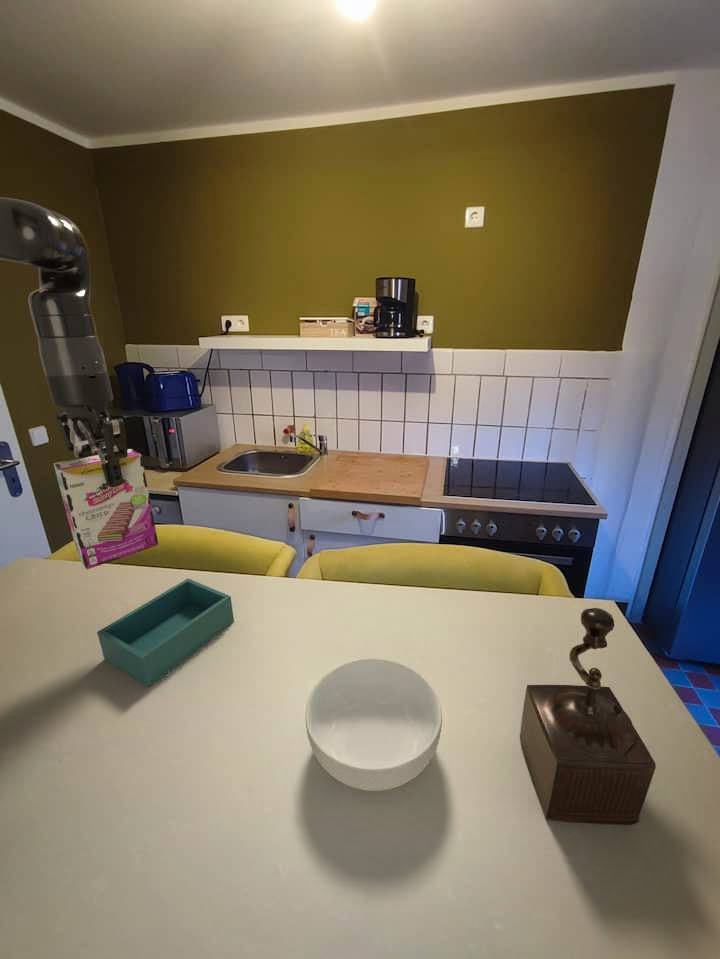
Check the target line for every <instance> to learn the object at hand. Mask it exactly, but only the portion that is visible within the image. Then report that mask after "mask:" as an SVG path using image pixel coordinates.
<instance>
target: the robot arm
mask: <svg viewBox="0 0 720 959" xmlns="http://www.w3.org/2000/svg"><path fill="white" fill-rule="evenodd" d="M0 260H2V261H7V262H12V263H17V264H22V265H27V266H32V267H37V269H38V279H39V280H38V282H39V288H38V289H35V290H33V291H32V292H30V293H29V295H28V300H27V302H28V308H29V312H30V315H31V319H32V323H33V327H34V330H35V334H36V337H37V343H38V344H37V345H38V351H39V352H38V353H39V357H40V361H41V365H42V370H43V372H44V375H45V380H46V384H47V388H48V391H49V395H50V399H51V402H52V404H53V406H54V407H56V408H60V409H65V412H62V413H56V414H55V419H56V422H57V425H58V427H59V431H60V433H61V436H62V439H63V441H64V445H65V447H66V450H67V451H68V453H73V454H74V456H75V458H76V459H79V458H85V457H90V456H96V454H95V452H96V453H97V455H98V456H99V458H100V460H101V462H102V463H103V464H102V468H103V472H104V476H105V480H106V484H107V486H109V487H115V486H118V485H121V484H123V477H122V473H121V468H120V464H119V460H121V459H123V458H126V457H128V452H127V450H128V445H127V435H126V426H125V421H124V419H122V418H116V419H114V418H112V417H111V416H110V414H109V412H108V409H107V407H106V406H107V404H109V403H111V402H113V400H114V395H113V391H112V386H111V385H112V384H111V381H110V377H109V371H108V368H107V363H106V359H105V354H104V350H103V348H102V345H101V343H100V339H99V336H98V330H97V326H96V323H95V318H94V313H93V311H92V307H91V288H92V287H91V286H92V284H91V280H92V278H91V258H90V252H89V247H88V245H87V242H86V239H85V237H84V235H83V233H82V231H81V229H80V228H79V227H78V225H76V223H75V222H74V221H72V220H71V218H69V217H67V216H66V215H63V214H61V213H59V212H57V211H55V210H51V209H49V208H47V207H45V206H42V205H40V204H36V203H34V202H32V201H31V202H30V201H27V200H22V199H18V198H11V197H2V196H0Z"/></svg>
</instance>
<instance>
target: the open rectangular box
mask: <svg viewBox="0 0 720 959" xmlns="http://www.w3.org/2000/svg"><path fill="white" fill-rule="evenodd" d="M234 622H235V617H234V611H233V603H232V596H231V595H229V594H227V593H224V592H221V591H219V590H217V589H214V588H213V587H210V586H207V585H205V584H203V583H200V582H198V581H195V580H193V579H190V578H186V579H184V580H183V581H180V582H179V583H177V584H175V585H174V586H173V587H171V588H169V589H168V590H165V591H164V592H162V593H160V594H159V595H157V596H156V597H153V598H152V599H150V600H149V601H147V602H145V603H144V604H142V605H140V606H138V607H137V608H135V609H134V610H132V611H129V613H127V614H125V615H123V616H122V617H120V618H118V619H116V620H115V621H113V622H112V623H109V624H108V625H107V626H105V627H103V628H101V629H99V630H98V631H97V632H96V633H97V637H98V641H99V644H100V648H101V652H102V655H103V659H104V661H106V662H107V663H110V664H111V665H112V666H114V667H115V668H117V669H119V670H120V671H121V672H123V673H125V674H126V675H128V676H129V677H131V678H133V679H134V680H136V681H137V682H139V683H140V684H142V685H144V686H145V687H146V688H150V687H151V686H152V685H154V684H155V683H156V682H158V681H159V680H160V679H161V678H163V677H164V676H166V675H167V674H168V673H170V672H171V671H172V670H173V669H175V668H176V667H177V666H179V665H180V664H182V662H184V661H185V660H186V659H188V658H189V657H190V656H192V655H193V654H194V653H196V651H198V650H199V649H200V648H202V647H203V646H205V645H206V644H207V643H208V642H209V641H211V640H212V639H213V638H215V637H216V636H217V635H219V634H220V633H221V632H223V631H224V630H225V629H226V628H228V627H229V626H231V624H234Z"/></svg>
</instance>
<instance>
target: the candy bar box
mask: <svg viewBox="0 0 720 959" xmlns="http://www.w3.org/2000/svg"><path fill="white" fill-rule="evenodd" d="M127 452H128V457H126V458H123V459H121V460H119V464H120V468H121V473H122V477H123V484H121V485H118V486H115V487H109V486H107V484H106V480H105V476H104V472H103V468H102V464H103V463H102V462H101V460H100V458H99V456H98V454H97V455H96V454H95V456H90V457H85V458H79V457H78V458H79V459H78V458H74V459H69V460H64V461H58V462H54V463H53V468H54V473H55V476H56V479H57V483H58V487H59V491H60V494H61V495H60V496H61V498H62V501H63V505H64V506H63V507H64V509H65V512H66V513H65V514H66V517H67V520H68V524H69V527H70V528H69V529H70V531H71V535H72V540H73V543H74V546H75V551H76V554H77V557H78V560H79V561H80V563H81V564H82V566H83V568H85V570H89V569H93V568H95V567H99V566H100V565H101V566H102V565H104V564H107V563H110V562H113V561H116V560H119V559H122V558H125V557H127V556H130V555H134V554H136V553H139V552H142V551H145V550H148V549H151V548H153V547H156V546H159V539H158V534H157V530H156V525H155V519H154V514H153V507H152V503H151V497H150V493H149V487H148V482H147V477H146V473H145V466H144V460H143V456H142V453H140V452H138V451H137V450H134V449H133V448H127Z"/></svg>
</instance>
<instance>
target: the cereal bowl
mask: <svg viewBox="0 0 720 959" xmlns="http://www.w3.org/2000/svg"><path fill="white" fill-rule="evenodd" d="M442 712H443V711H442V705H441V702H440V699H439V697H438V694H437V692H436V691H435V689H434V687H433V686H432V685H431V683H430V682H429V681H428V679H427V678H425V676H423V675H422V674H421V673H420V672H418V671H417V670H415V669H414V668H412V667H410V666H409V665H406V664H404V663H401V662H399V661H395V660H392V659H387V658H380V657H379V658H378V657H370V658H369V657H368V658H361V659H355V660H351V661H347V662H345V663H343V664H340V665H338V666H337V667H334V668H333V669H332V670H330V671H329V672H327V673H326V674H324V676H322V677H321V678H320V679H319V680H318V682H317V683H316V684H315V685H314V686H313V688H312V690H311V692H310V695H309V696H308V699H307V701H306V706H305V717H304V718H305V728H306V735H307V738H308V741H309V746H310V747H311V750H312V753H313V754H314V756H315V758H316V759H317V761H318V763H319V764H320V765H321V767H322V768H323V769H324V770H325V771H326V772H327V773H328V774H330V776H331V777H332V778H334V779H336V780H337V781H338V782H341V783H342V784H344V785H346V786H349V787H351V788H355V789H358V790H364V791H367V792H369V791H371V792H374V791H375V792H378V791H379V792H380V791H387V790H391V789H395V788H398V787H400V786H403V785H405V784H407V783H408V782H410V781H412V780H413V779H414V778H417V777H418V776H419V775H420V774H421V773H422V772H424V769H425V768H427V766H428V764H429V763H430V762H431V760H432V758H433V757H434V755H435V752H436V750H437V748H438V745H439V741H440V738H441V732H442V726H443V713H442Z"/></svg>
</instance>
